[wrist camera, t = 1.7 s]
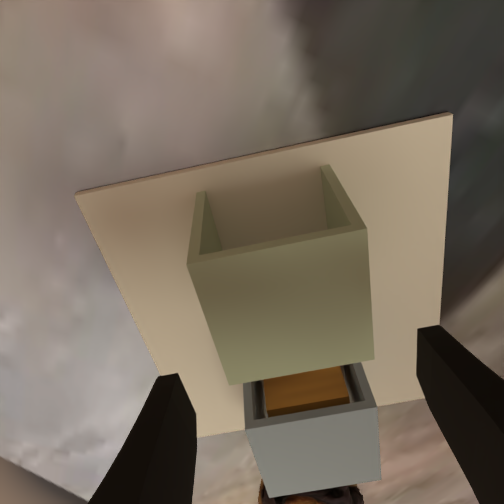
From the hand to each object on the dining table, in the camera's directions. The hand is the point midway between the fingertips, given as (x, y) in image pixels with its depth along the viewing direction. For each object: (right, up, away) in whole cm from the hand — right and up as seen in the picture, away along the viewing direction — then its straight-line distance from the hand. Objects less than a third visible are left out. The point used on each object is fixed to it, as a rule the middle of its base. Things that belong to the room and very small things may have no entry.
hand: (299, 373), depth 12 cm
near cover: (0, +4, +7) cm, 8 cm away
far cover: (+1, -3, +12) cm, 12 cm away
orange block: (+1, -3, +12) cm, 12 cm away
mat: (+1, 0, +10) cm, 10 cm away
